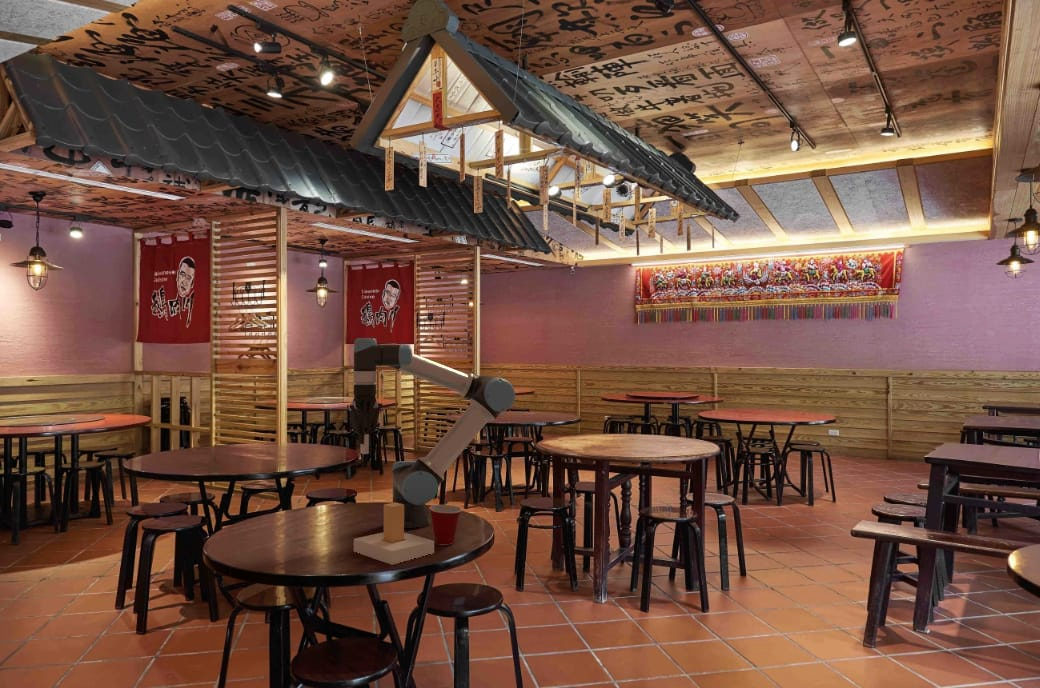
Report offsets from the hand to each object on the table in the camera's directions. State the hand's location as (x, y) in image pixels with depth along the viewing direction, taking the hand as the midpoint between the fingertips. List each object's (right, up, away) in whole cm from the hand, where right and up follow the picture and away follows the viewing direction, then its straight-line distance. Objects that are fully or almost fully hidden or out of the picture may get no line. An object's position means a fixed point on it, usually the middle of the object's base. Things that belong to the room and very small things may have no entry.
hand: (364, 453), depth 240 cm
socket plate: (+13, -28, -18) cm, 36 cm away
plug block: (+13, -28, -18) cm, 36 cm away
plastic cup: (+28, -29, -8) cm, 41 cm away
